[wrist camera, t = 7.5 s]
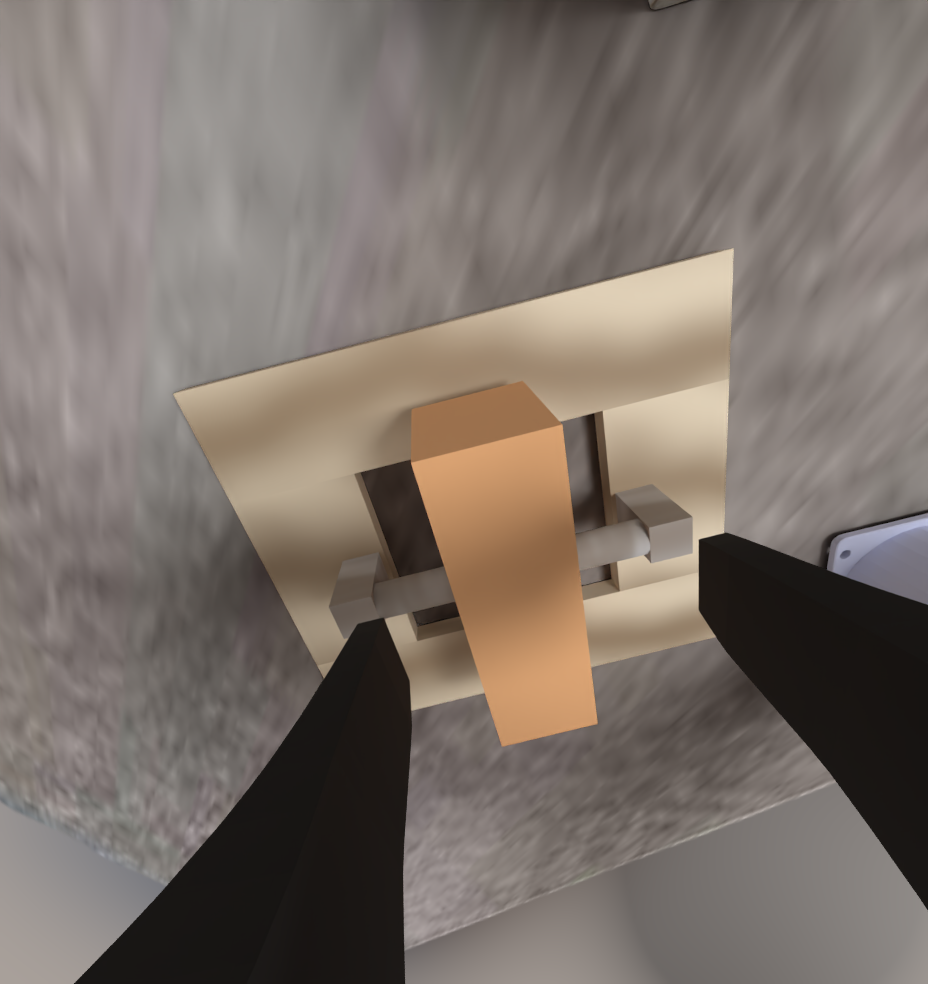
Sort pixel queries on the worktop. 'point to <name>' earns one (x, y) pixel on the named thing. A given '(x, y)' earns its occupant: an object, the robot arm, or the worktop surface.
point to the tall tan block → (509, 553)
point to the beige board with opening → (466, 370)
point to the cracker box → (663, 3)
